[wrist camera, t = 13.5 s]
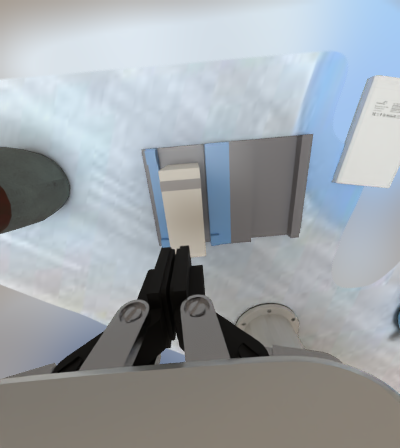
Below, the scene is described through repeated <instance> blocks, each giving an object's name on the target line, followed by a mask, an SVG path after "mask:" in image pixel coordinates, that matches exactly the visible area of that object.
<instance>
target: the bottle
mask: <svg viewBox="0 0 400 448" xmlns="http://www.w3.org/2000/svg"><path fill="white" fill-rule="evenodd" d="M68 196H69V183H68V180H67V177H66V175H65V174H64V172H63V171H62V169H61V168H60V167H59V166H58V165H57V164H56V163H55V162H54V161H52V160H50V159H49V158H47V157H45V156H43V155H40V154H37V153H34V152H30V151H26V150H22V149H15V148H7V147H0V234H2V233H5V232H9V231H12V230H16V229H19V228H22V227H25V226H28V225H31V224H34V223H37V222H40V221H43V220H45V219H46V218H48V217H49V216H51V215H52V214H54V213H55V212H56V211H57V210H59V209H60V208H61V207H62V206H63V205H64V203H65V202H66V201H67V198H68Z"/></svg>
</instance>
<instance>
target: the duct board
mask: <svg viewBox="0 0 400 448" xmlns="http://www.w3.org/2000/svg"><path fill="white" fill-rule="evenodd" d="M312 139H313V134H308V135H299V136H288V137H277V138H266V139H255V140H242V141H231V142H219V143H208V144H200V145H189V146H177V147H166V148H153V149H144V150H141V151H142V156H143V161H144V166H145V172H146V177H147V182H148V187H149V193H150V198H151V203H152V209H153V214H154V219H155V224H156V230H157V235H158V240H159V245H160V246H162V248H164V247H170V242H169V236H168V229H167V223H166V217H165V211H164V205H163V198H162V192H161V188H160V180H159V173H158V171H159V170H161V169H162V168H164V167H165V166H167V165H175V164H186V163H198V165H199V169H200V178H201V195H202V208H203V221H204V234H205V242H209V241H211V246H215V245H220V244H228V243H240V242H251V238H253V237H265V236H276V235H288V236H289V237H290V238H296V237H299V233H300V227H301V220H302V212H303V205H304V198H305V190H306V183H307V176H308V168H309V161H310V154H311V146H312Z"/></svg>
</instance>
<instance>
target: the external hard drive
mask: <svg viewBox="0 0 400 448" xmlns="http://www.w3.org/2000/svg"><path fill="white" fill-rule="evenodd" d="M344 144H345V146H344V149H343V152H342V155H341V157H340V160H339V163H338V166H337V169H336V171H335V174H334V177H333V180H332V182H334V183H341V184H351V185H362V186H372V187H382V188H389V187H390V185H391V183H392V181H393V179H394V177H395V175H396V173H397V170H398V168H399V166H400V78H395V77H388V76H381V75H376V76H373V77H371V78H368V79H367V82H366V84H365V87H364V90H363V92H362V95H361V98H360V100H359V103H358V106H357V109H356V112H355V114H354V117H353V120H352V123H351V126H350V128H349V131H348V134H347V137H346V140H345V142H344Z"/></svg>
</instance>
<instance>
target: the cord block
mask: <svg viewBox="0 0 400 448" xmlns="http://www.w3.org/2000/svg"><path fill="white" fill-rule="evenodd" d="M158 173H159V180H160V188H161V192H162V198H163V205H164V211H165V217H166V223H167V229H168V236H169V242H170V247H171V248H172V249H175V254H176V251H177V249H179V248H180V246H187V245H189V248H190V257H201V256H206V247H205V234H204V221H203V208H202V195H201V178H200V169H199V165H198V163H186V164H175V165H167V166H165V167H164V168H162V169H161V170H159V171H158Z"/></svg>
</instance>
